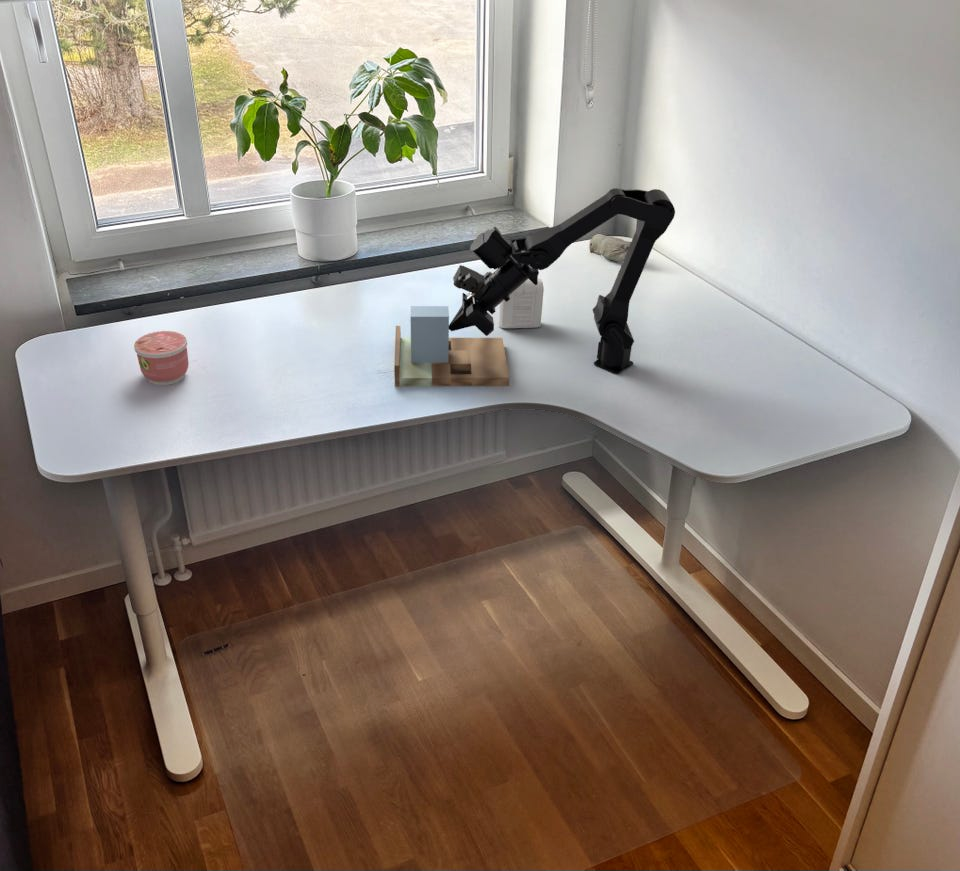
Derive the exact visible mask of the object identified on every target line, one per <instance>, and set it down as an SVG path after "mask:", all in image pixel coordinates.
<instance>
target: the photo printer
mask: <svg viewBox="0 0 960 871" xmlns="http://www.w3.org/2000/svg"><path fill="white" fill-rule="evenodd" d="M544 291H545V290H544V283H543V280H542V279H541V278H540V277H538V284H537V285H534V284H533V283H532V282H531V281H530V280H529V279H528V280H526V281H525V282H524V283H523V284H522V285H521V286H519V287H518V288H517V289H516V290H515V291H514V292H512V293H511V294H510V295H509V296H510V300H508V301H507V302H506V301H505V300H503V301H502V302H501V303H500V304H499V305H498V320H497V325H498V327H499V328H500V329H532V328H533V329H534V328H535V329H536V328H539V327H541V325H542V314H543V304H544V303H543V302H544Z"/></svg>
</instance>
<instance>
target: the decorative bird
mask: <svg viewBox="0 0 960 871" xmlns="http://www.w3.org/2000/svg"><path fill="white" fill-rule="evenodd" d="M630 244H631V241H628V240H625V239H623V238H619V237H614V236H607V235H604V234H601V233H597V234H595V235H593V236H592V237H591V239H590V240H589V245H588V248H589V252H590V253H594V252H595V251H597V252H599V253H600V255H601V256H603V257H604V259H607V260H610V261H615V262H623V261H624V258H625V256H626V254H627V251H628V249H629V246H630Z"/></svg>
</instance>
